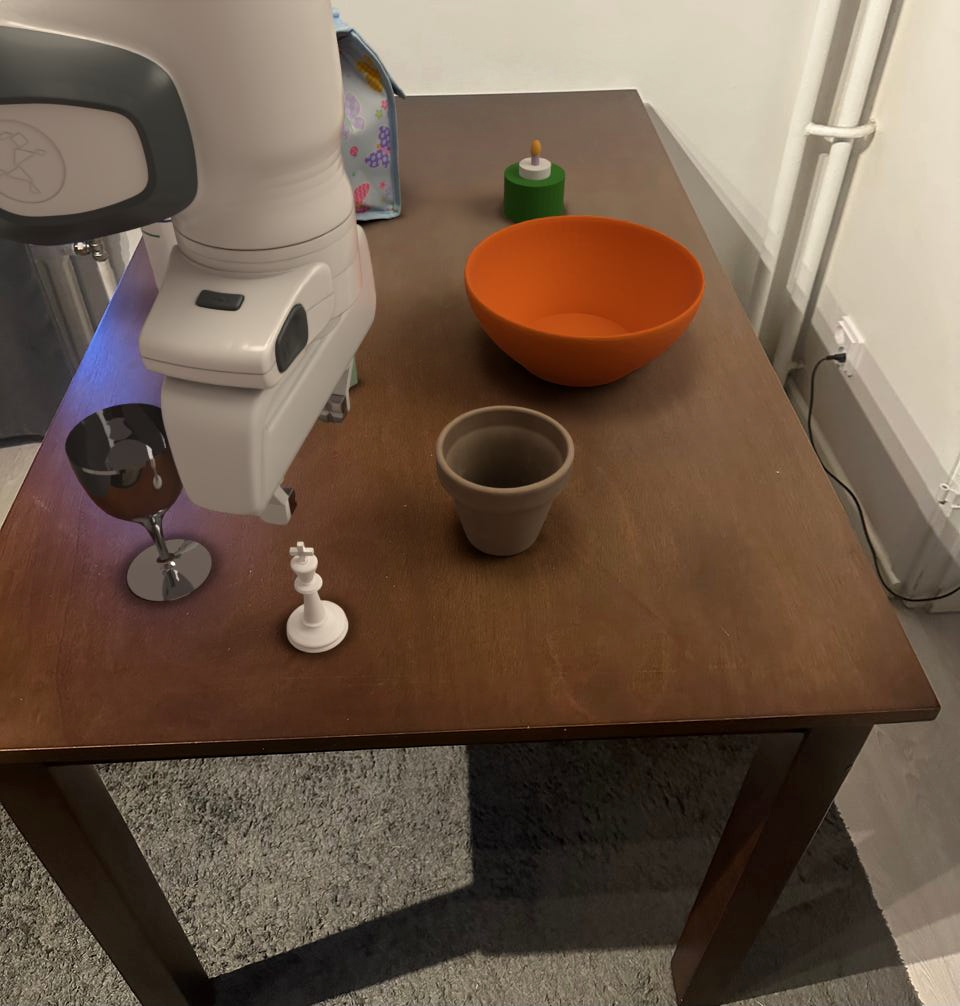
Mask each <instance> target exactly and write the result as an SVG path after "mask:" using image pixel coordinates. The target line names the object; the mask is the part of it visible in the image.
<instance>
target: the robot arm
mask: <svg viewBox="0 0 960 1006" xmlns="http://www.w3.org/2000/svg"><path fill="white" fill-rule="evenodd" d="M332 8H333V6H332V2H331V0H0V238H1V239H4V240H7V241H11V242H15V243H19V244H23V245H24V244H25V245H30V246H39V247H40V246H41V247H42V246H43V247H57V246H64V245H71V244H76V243H81V242H86V241H90V240H95V239H101V238H105V237H109V236H115V235H117V234H121V233H125V232H130V231H133V230H134V231H135V230H138V229H141V227H144V226H147V225H151V224H154V223H157V222H160V221H162V220H165V219H167V218H170V217H171V220H172V225H173V229H174V233H175V237H176V241H177V244H175V245H174V246H173V248H172V250H171V252H170V255H169V260H168V265H167V269H166V273H165V276H164V279H163V282H162V285H161V288H160V290H159V291H158V293H157V295H156V297H155V300H154V302H153V304H152V306H151V309H150V311H149V313H148V314H147V317H146V319H145V320H144V323H143V325H142V327H141V330H140V332H139V336H138V344H137V345H138V350H139V351H138V352H139V355H140V357H141V361H142V363H143V365H144V367H145V369H146V371H148V372H151V373H154V374H158V375H162V376H164V378H163V381H162V384H161V391H160V408H161V411H162V418H163V423H164V427H165V431H166V434H167V438H168V442H169V445H170V449H171V452H172V455H173V459H174V462H175V465H176V468H177V471H178V474H179V477H180V479H181V482H182V485H183V490H184V492H185V494H186V496H187V498H188V499H189V501H190V502H191V503H192V504H193V505H196V506H197V507H199V508H201V509H204V510H208V511H211V512H213V513H214V512H215V513H220V514H225V515H230V516H231V515H232V516H237V517H248V518H249V517H251V518H252V517H253V518H255V517H259V519H260V520H261V521H263V522H264V523H267V524H273V525H278V526H286V525H288V523H289V522H290V520H291V518H292V516H293V514H294V512H295V510H296V509H297V507H298V504H297V503H298V502H297V500H296V492H295V488H294V487H292V486H286V485H282V484H283V482H284V480H285V476H286V474H287V472H288V470H289V469H290V467H291V465H292V463H293V461H294V460H295V458H296V456H297V455H298V453H299V451H300V450H301V448H302V446H303V444H304V442H305V441H306V439H307V437H308V436H309V434H310V432H311V431H312V429H313V427H314V425H315V424H316V422H317V420H319V421H320V422H322V423H326V424H329V423H332V424H334V425H341V424H342V423H343V422H344V420H345V418H346V417H347V415H348V413H349V412H350V409H351V401H350V393H349V392H350V391H349V390H350V388H349V386H350V380H351V373H352V367H353V360H354V359H353V356H354V355H355V356H356V353H357V351H358V350H359V348H360V346H361V344H362V343H363V341H364V339H365V337H366V335H367V334H368V332H369V330H370V329H371V328H372V325H373V324H374V322H375V317H376V311H377V292H376V283H375V277H374V270H373V263H372V257H371V251H370V247H369V242H368V239H367V235H366V233H365V230H364V228H363V227H362V226H361V225H360V224H357V220H356V212H355V203H354V194H353V189H352V186H351V183H350V180H349V178H348V176H347V174H346V171H345V168H344V165H343V161H342V155H341V137H342V131H343V126H344V121H345V102H344V92H343V83H342V74H341V66H340V58H339V50H338V44H337V37H336V30H335V24H334V18H333V13H332Z"/></svg>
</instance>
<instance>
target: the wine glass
mask: <svg viewBox="0 0 960 1006" xmlns="http://www.w3.org/2000/svg"><path fill="white" fill-rule="evenodd" d="M64 451H65V453H66V458H67V459H68V461H69V464H70V467H71V469H72V471H73V473H74V474H75V477H76V479H77V481H78V483H79V484H80V486H81V487H82V488H83V491H85V493H86V495H87V496H88V497H89V498H90V499H91V501H92V502H93V503H94V504H95V505H96V506H97V507H98V508H99V509H100V510H101V511H103V512H104V513H105V514H106V515H108V516H110V517H112V518H115V519H118V520H121V521H125V522H131V523H136V524H139V525H140V526H142V527H143V528H144V529H145V530H146V531H147V533H148V534H149V536H150V538H151V539H152V541H153V543H154V544H153V545H151V546H149V547H148V548H146V549H145V550H142V551H141V552H140V553H139V554H138V555H137V556H136V557H135V558H134V559H133V560H132V562H131V564H130V565H129V567H128V570H127V575H126V583H127V585H128V588H129V590H130V591H131V592H132V593H133V594H134V595H135V596H137V597H138V598H140V599H142V600H145V601H148V602H154V603H157V602H159V603H160V602H161V603H164V602H171V601H176V600H178V599H181V598H183V597H186V596H188V595H190V594H191V593H194V592H195V591H196V590H197V589H199V588H200V587H201V586H202V585H203V584H204V583H205V582H206V581H207V579H208V578H209V576H210V574H211V572H212V568H213V559H212V556H211V553H210V551H209V550H208V549H207V548H206V547H205V546H204V545H202V544H200V543H199V542H196V541H194V540H190V539H184V538H183V539H182V538H181V539H180V538H177V539H176V538H175V539H168V540H165V535H164V530H163V529H164V528H163V519H164V517H165V514H166V513H167V512H168V511H169V510H170V509H171V508H172V507H173V506H174V504H175V503H176V501H178V498H179V497H180V495H181V493H182V490H183V489H184V487H183V485H182V482H181V479H180V477H179V474H178V471H177V468H176V465H175V462H174V459H173V455H172V452H171V449H170V445H169V442H168V438H167V434H166V431H165V427H164V423H163V418H162V411H161V407H159V406H157V405H153V404H149V403H142V402H131V403H130V402H129V403H121V404H115V405H111V406H107V407H105V408H102V409H100V410H98V411H95V412H93V413H91V414H89V415H87V416H86V417H85V418H83V419H82V420H80V421H79V422H78V423H77V424H76V425H75V426H73V428H71V430H70V431H69V433H68V435H67V437H66V439H65V443H64Z"/></svg>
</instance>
